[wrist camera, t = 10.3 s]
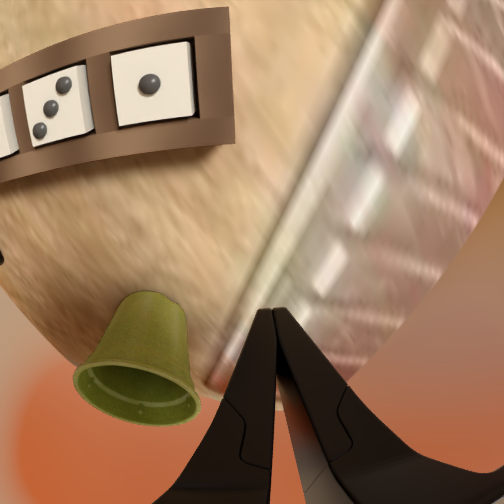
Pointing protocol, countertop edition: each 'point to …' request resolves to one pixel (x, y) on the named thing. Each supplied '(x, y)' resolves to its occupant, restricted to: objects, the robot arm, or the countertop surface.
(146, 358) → the plant pot
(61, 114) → the tile three dot
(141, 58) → the tile one dot
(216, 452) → the robot arm
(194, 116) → the tile board
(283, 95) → the countertop surface
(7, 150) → the tile two dot
